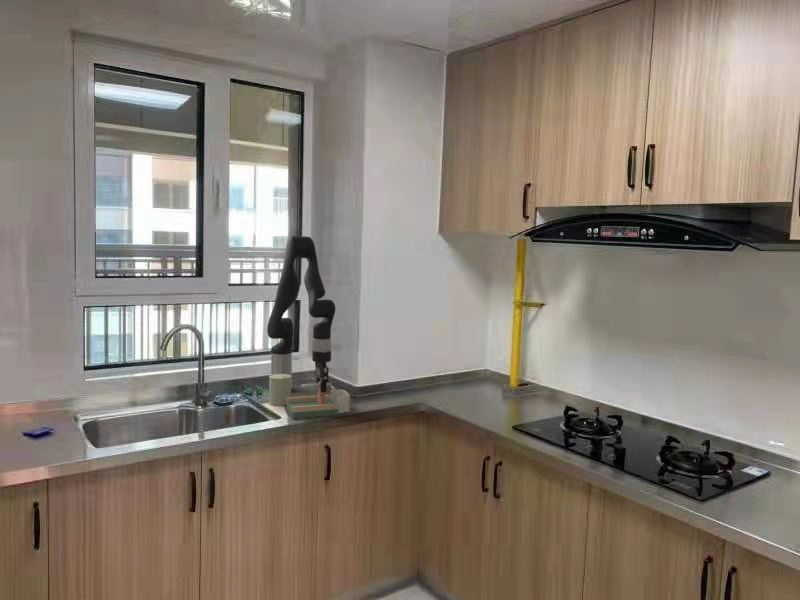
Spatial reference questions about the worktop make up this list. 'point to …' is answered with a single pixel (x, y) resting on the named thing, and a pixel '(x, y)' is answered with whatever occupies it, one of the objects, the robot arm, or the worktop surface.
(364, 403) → the worktop surface
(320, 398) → the kicker
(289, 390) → the can
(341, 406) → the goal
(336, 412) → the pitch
